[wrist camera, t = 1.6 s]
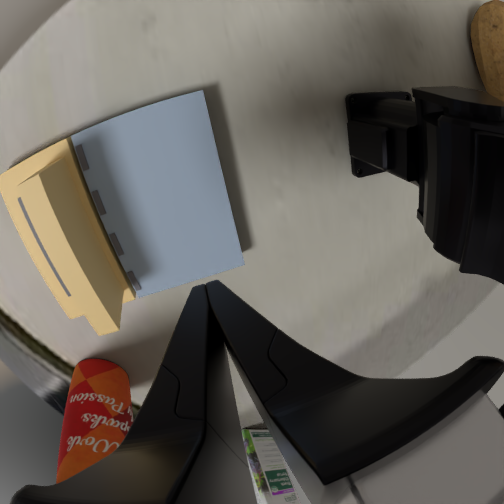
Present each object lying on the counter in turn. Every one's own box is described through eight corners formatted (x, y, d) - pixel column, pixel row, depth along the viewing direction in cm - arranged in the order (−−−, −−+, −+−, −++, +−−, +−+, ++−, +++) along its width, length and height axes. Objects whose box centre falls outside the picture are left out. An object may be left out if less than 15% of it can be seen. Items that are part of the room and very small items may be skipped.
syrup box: (273, 428, 39) (304, 505, 27) (254, 443, 41) (280, 515, 29) (242, 427, 37) (271, 513, 25) (224, 443, 39) (248, 521, 27)
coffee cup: (154, 371, 26) (173, 516, 13) (120, 404, 28) (130, 524, 15) (77, 337, 22) (61, 499, 9) (54, 378, 23) (44, 506, 11)
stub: (73, 134, 14) (39, 150, 10) (136, 287, 21) (133, 339, 16) (5, 171, 13) (-37, 200, 9) (73, 307, 20) (60, 357, 15)
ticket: (200, 90, 15) (203, 89, 14) (239, 254, 22) (245, 265, 20) (77, 133, 14) (69, 136, 13) (139, 285, 21) (138, 298, 19)
